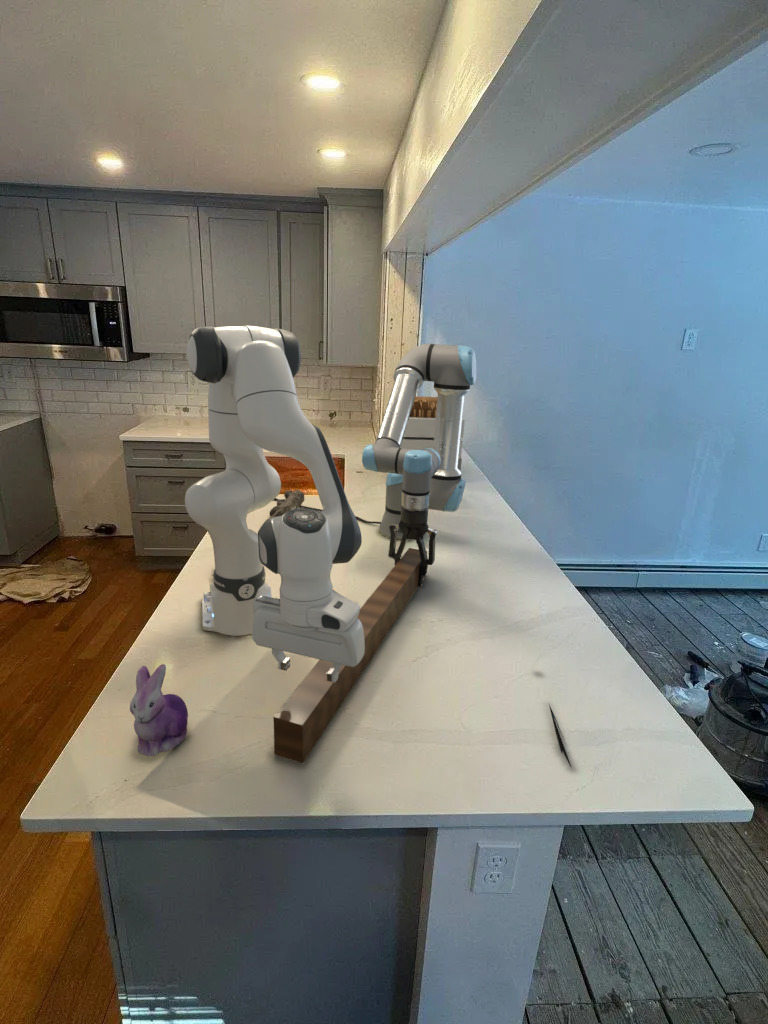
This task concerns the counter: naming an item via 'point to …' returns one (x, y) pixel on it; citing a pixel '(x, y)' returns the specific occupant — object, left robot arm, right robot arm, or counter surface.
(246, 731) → the counter surface
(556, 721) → the feather
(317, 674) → the bar
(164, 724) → the figurine
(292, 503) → the fossil
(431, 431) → the transformer
